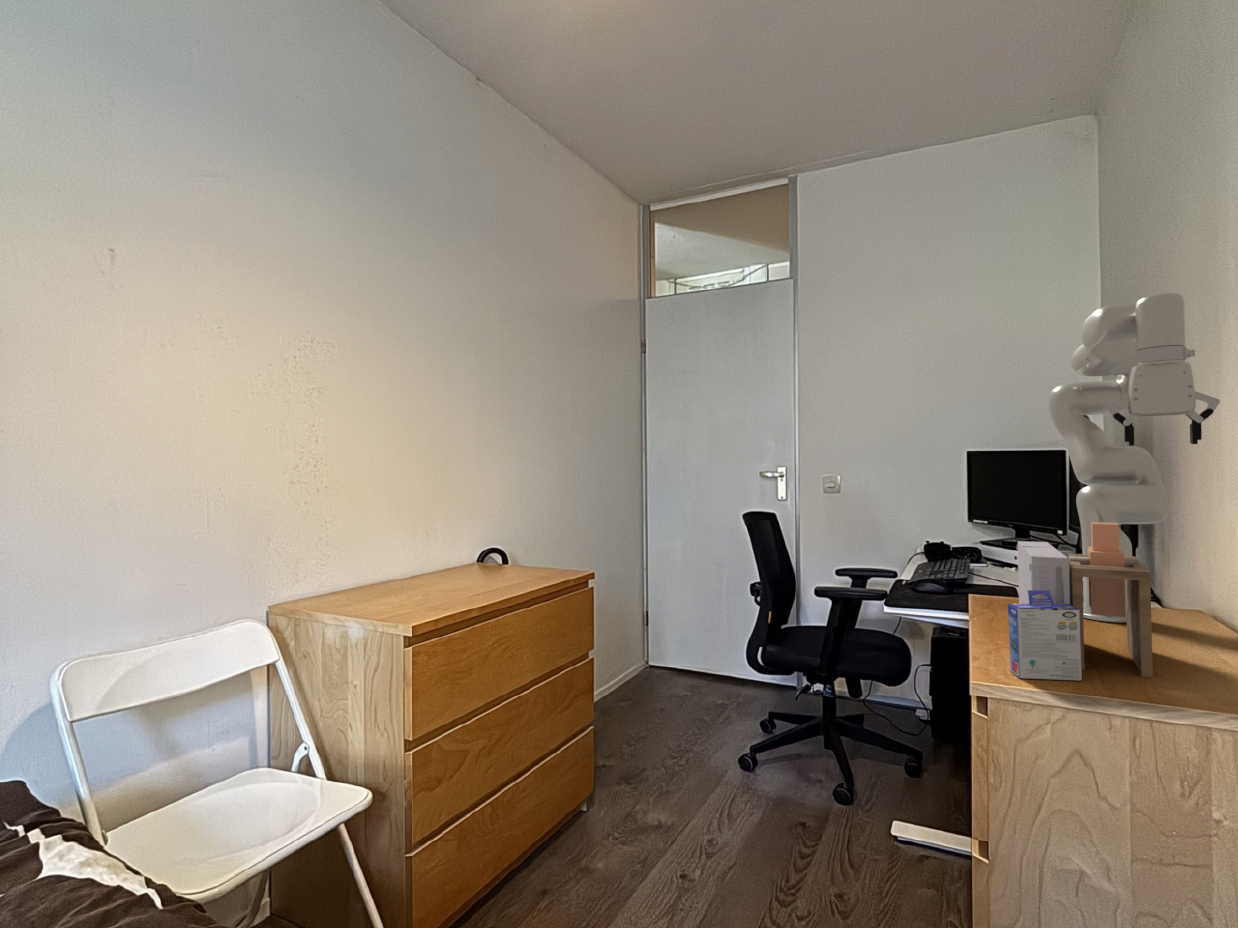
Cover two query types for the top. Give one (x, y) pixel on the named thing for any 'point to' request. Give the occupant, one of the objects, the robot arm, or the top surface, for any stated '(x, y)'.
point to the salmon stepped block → (1106, 552)
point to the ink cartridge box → (1044, 639)
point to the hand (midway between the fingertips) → (1162, 444)
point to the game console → (1042, 572)
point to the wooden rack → (1135, 603)
